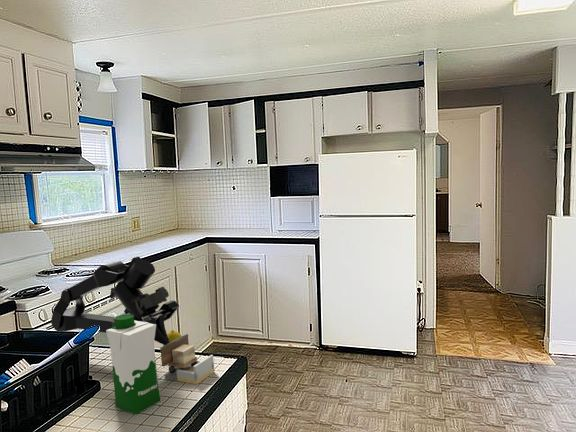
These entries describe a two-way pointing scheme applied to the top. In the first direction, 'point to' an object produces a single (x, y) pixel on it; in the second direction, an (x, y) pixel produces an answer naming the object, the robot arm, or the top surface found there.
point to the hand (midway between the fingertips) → (167, 343)
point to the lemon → (173, 335)
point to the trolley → (178, 354)
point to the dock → (194, 371)
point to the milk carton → (133, 364)
